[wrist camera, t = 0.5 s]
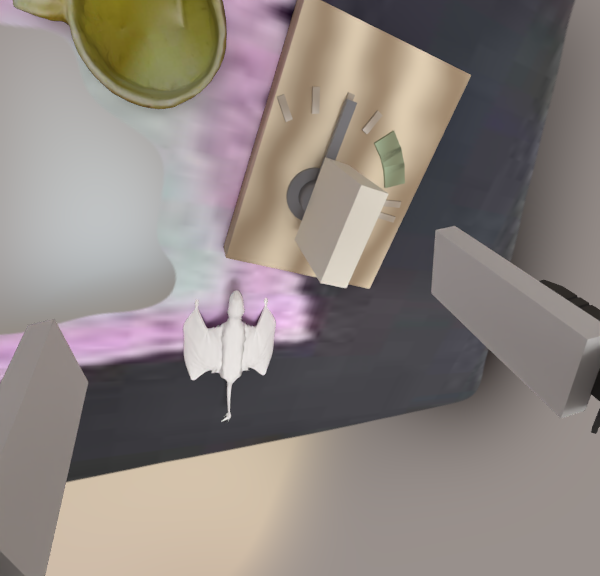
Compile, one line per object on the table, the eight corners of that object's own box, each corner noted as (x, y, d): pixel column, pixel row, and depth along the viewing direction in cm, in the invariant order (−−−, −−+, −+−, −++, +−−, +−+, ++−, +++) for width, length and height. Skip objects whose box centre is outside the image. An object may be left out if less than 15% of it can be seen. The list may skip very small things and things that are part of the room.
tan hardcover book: (223, 246, 42) (226, 259, 39) (298, -4, 33) (307, -8, 30) (360, 277, 48) (370, 290, 45) (455, 73, 39) (473, 75, 36)
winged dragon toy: (265, 400, 54) (272, 424, 50) (183, 407, 51) (184, 434, 48) (280, 276, 45) (289, 295, 42) (182, 276, 43) (183, 297, 39)
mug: (263, -29, 30) (239, -9, 23) (218, 103, 36) (188, 153, 29) (88, -135, 27) (-7, -151, 19) (72, 30, 33) (-3, 65, 26)
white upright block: (274, 225, 39) (303, 279, 30) (321, 88, 34) (372, 105, 25) (322, 238, 41) (362, 291, 32) (373, 109, 36) (437, 131, 27)
